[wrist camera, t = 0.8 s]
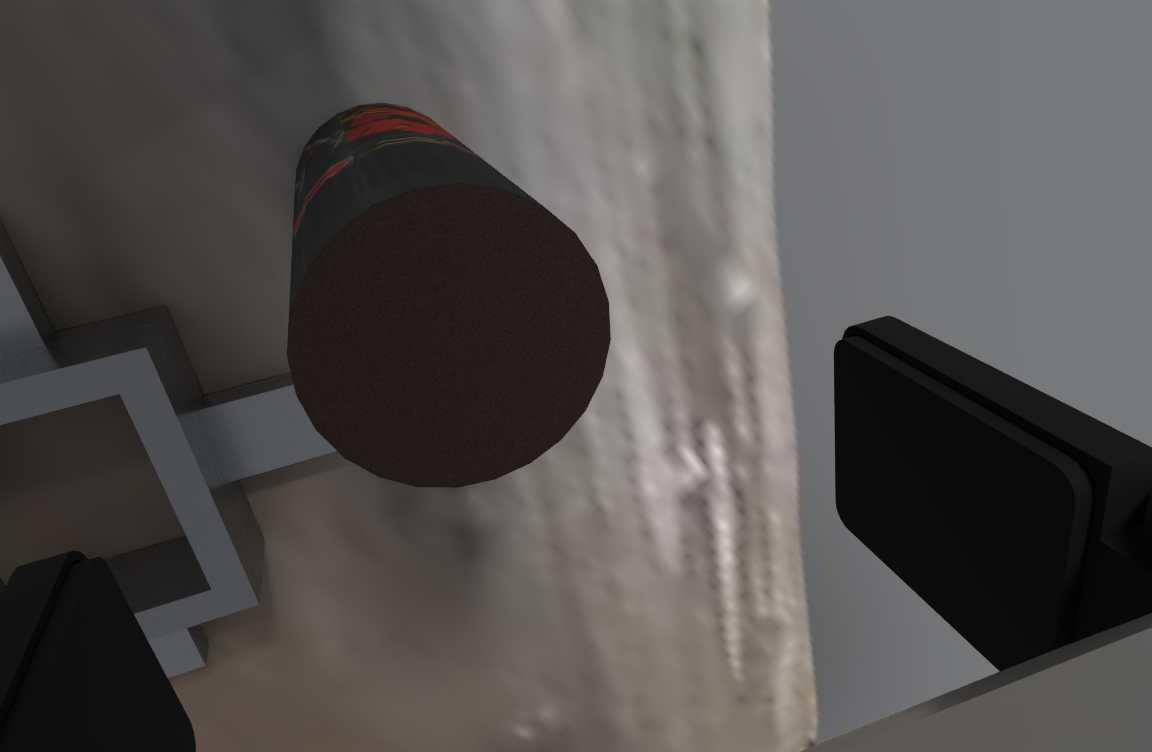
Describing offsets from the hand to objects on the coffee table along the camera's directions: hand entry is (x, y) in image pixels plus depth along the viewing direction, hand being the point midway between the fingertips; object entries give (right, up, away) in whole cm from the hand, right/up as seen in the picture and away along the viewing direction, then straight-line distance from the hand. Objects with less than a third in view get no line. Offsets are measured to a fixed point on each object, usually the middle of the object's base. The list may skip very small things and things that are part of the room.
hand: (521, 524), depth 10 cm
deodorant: (-6, +8, +18) cm, 21 cm away
